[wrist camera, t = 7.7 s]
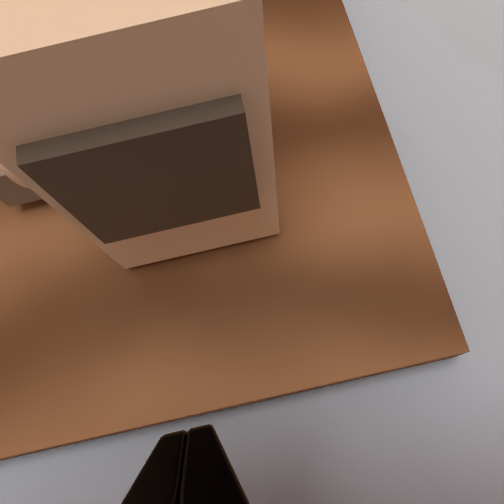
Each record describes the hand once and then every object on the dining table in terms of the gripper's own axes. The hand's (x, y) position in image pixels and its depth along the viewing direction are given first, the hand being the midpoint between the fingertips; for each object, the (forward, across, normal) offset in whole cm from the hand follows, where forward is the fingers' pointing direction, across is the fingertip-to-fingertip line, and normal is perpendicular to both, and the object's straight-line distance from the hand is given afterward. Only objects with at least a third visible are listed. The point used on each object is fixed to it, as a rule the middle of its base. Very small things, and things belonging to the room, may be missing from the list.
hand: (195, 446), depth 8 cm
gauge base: (+12, 0, -2) cm, 12 cm away
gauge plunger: (+9, +2, -1) cm, 9 cm away
